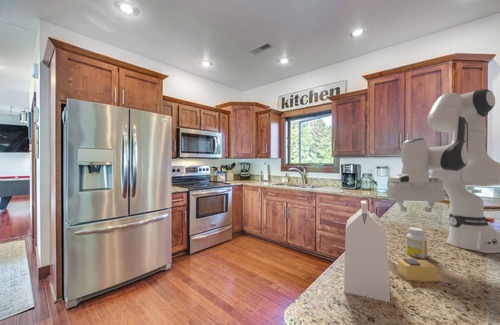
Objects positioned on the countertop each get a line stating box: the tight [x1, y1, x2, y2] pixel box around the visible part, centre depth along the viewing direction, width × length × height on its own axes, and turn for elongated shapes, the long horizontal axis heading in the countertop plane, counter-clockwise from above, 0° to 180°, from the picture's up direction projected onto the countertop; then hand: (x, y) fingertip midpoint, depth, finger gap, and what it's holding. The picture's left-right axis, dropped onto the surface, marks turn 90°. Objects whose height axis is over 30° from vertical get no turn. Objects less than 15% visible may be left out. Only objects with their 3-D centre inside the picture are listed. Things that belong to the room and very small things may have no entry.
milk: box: [343, 200, 391, 303], centre depth 67 cm, size 12×12×26 cm
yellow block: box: [396, 258, 438, 282], centre depth 70 cm, size 9×5×5 cm, turn 84°
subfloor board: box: [388, 261, 473, 285], centre depth 73 cm, size 20×14×1 cm
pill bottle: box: [406, 226, 428, 259], centre depth 88 cm, size 6×6×12 cm
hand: (415, 211), depth 88 cm, fingers open, 8 cm apart
